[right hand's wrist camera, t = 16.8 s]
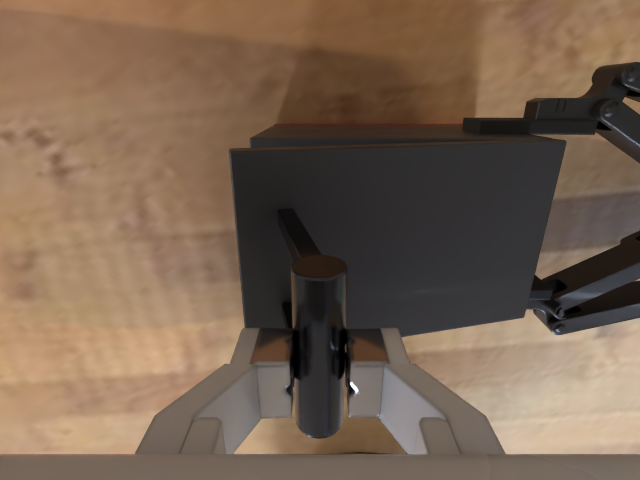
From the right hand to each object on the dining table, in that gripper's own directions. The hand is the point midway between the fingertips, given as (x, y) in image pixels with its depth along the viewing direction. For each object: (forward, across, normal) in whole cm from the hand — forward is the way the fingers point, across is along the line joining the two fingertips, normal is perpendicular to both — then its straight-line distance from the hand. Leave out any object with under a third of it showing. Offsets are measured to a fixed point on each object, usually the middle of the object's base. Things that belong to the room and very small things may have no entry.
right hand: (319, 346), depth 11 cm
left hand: (+14, -9, 0) cm, 16 cm away
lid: (+8, -4, 0) cm, 9 cm away
